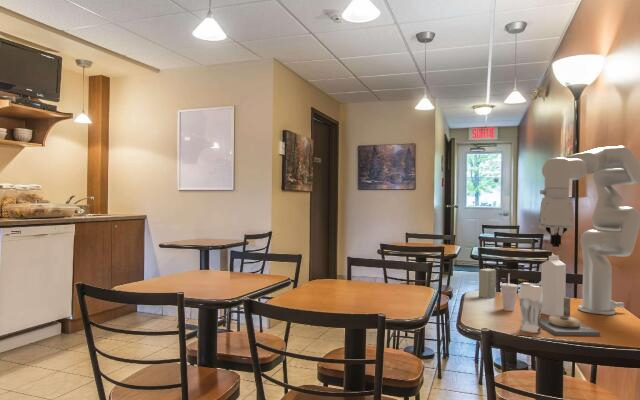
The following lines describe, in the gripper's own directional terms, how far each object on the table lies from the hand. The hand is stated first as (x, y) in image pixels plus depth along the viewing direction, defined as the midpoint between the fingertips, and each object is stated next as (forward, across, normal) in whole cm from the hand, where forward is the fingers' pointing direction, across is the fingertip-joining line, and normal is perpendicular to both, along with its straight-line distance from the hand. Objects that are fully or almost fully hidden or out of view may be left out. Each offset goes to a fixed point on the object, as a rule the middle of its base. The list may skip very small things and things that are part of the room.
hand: (555, 246), depth 156 cm
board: (+27, +2, -6) cm, 27 cm away
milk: (+27, +2, +14) cm, 30 cm away
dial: (+25, +2, -5) cm, 26 cm away
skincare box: (+27, -19, +38) cm, 50 cm away
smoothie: (+27, -13, +16) cm, 34 cm away
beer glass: (+27, -10, -13) cm, 31 cm away
